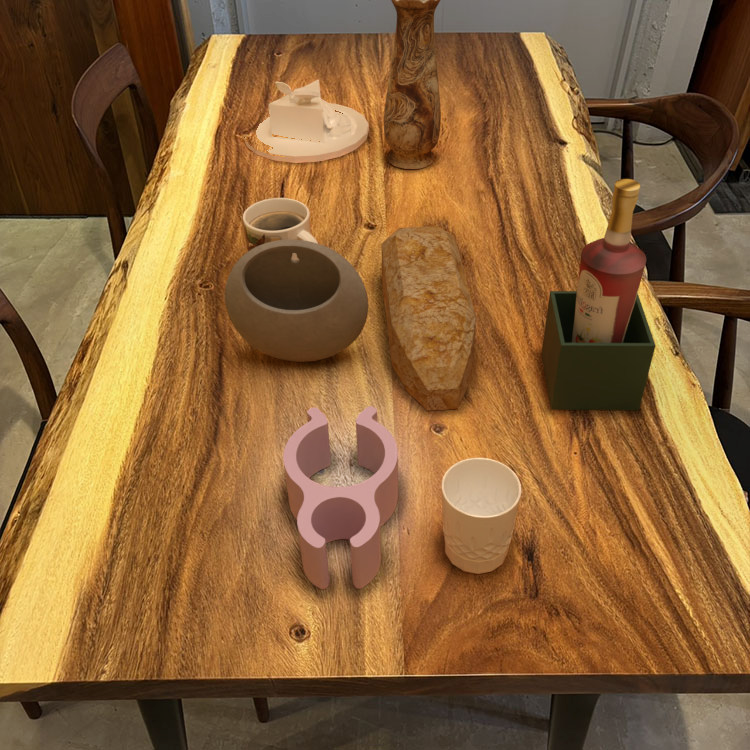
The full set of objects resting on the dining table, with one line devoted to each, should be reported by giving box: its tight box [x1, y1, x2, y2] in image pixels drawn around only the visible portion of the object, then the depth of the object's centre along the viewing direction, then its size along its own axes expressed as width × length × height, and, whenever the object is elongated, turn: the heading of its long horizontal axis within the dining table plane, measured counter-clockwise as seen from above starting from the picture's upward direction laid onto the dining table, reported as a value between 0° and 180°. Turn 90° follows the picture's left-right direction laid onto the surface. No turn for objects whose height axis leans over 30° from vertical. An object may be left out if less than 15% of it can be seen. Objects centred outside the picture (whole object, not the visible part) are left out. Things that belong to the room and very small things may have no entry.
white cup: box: [441, 457, 522, 575], centre depth 86 cm, size 8×8×10 cm
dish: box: [242, 79, 370, 164], centre depth 163 cm, size 25×25×11 cm
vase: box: [383, 0, 442, 170], centre depth 148 cm, size 10×11×30 cm
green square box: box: [540, 290, 656, 411], centre depth 106 cm, size 11×11×10 cm
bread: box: [380, 225, 477, 411], centre depth 116 cm, size 36×11×10 cm, turn 4°
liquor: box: [572, 178, 647, 343], centre depth 100 cm, size 7×7×28 cm
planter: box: [224, 240, 369, 363], centre depth 108 cm, size 18×7×19 cm, turn 88°
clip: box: [282, 405, 399, 590], centre depth 92 cm, size 20×12×7 cm, turn 0°
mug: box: [242, 197, 319, 260], centre depth 125 cm, size 10×12×11 cm
